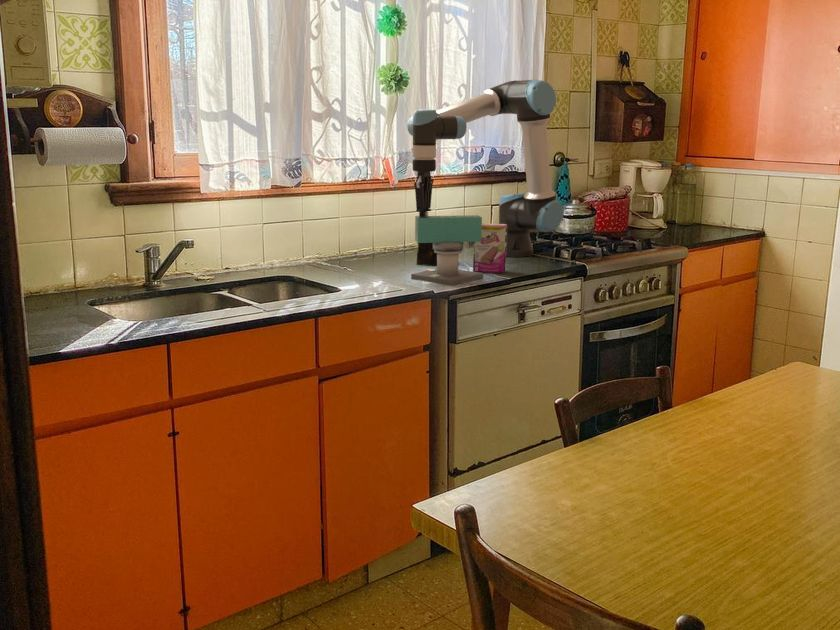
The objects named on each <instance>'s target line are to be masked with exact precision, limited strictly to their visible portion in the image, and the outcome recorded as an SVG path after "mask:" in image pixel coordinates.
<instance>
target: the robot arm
mask: <svg viewBox="0 0 840 630" xmlns="http://www.w3.org/2000/svg"><path fill="white" fill-rule="evenodd" d="M556 104H557V97H556V92H555V90H554V88H553V86H552V85H551V84H550V83H549V82H548V81H545V80H539V79H526V80H525V79H523V80H511V81H510V80H509V81H506V82H503V83H500V84H498V85H495V86H493V87H490V88H487V89H485V90H483V92H482V93H481V94H480V95H476V96H473V97H471V98H468V99H464V100H462V101H459V102H456V103H454V104H451V105H450V104H449V106H448V105H447V106H445V107H443V108H438V109H415V110H414V111H413V115H412V116H411V117H410V118H409V119H408V121H407V125H406V127H407V131H408V133H409V134H410V136H411V137H412V147H411V150H410V151H412V158H414V159H412V171H413V172H417V174H416V175H417V176H416V180H415V181H414V183H413V186H414V190H415V191H414V192H415V206H416V210H415V211H416V212H418V216H429V212H431V211H432V209H431V205H432V195H433V186H434V185H433V184H434V179H433V178H432V175H431V173H432V172H435V171H436V168H437V165H436V164H437V162H436V157H437V140H453V141H454V140H459V139H462V138H464V137H465V135H466V133H467V128H468V127H467V123H470V122H473V121H475V120H478V119H481V118H484V117H488V116H490V117H495V116H498V115H506V114H507V115H508V114H509V115H511V114H512V115H516V120H517V122H518V123H519V124H520V125H521V128H522V141H523V153H524V165H525V166H524V167H525V175H526V178H525V179H526V189H527V191H526V193H524V192H523V193H514V194H513V193H512V194H503V195H501V196H500V199H499V204H498V208H499V209H498V224H507V244H506V257H508V258H510V257H512V258H515V257H516V258H519V257H520V258H521V257H530V256H533V255H534V248H533V244H532V240H531V237H530V231H531V230H533V231H537V232H541V233H544V232H545V233H550V232H553V231H555V230H556V229H557V228H559V226H560V224H561V223H562V222H563V218H564V211H565V210H564V206H563V204H562V202H560V201H558V200H557V194H556V192H555V191H554V190H553V189H552V183H551V171H550V170H551V169H550V155H549V154H550V153H549V141H548V130H547V129H548V128H547V127H548V125H547V123H548V121H550V119H551V113H552V112H553V111H554V109H555V107H556Z"/></svg>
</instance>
